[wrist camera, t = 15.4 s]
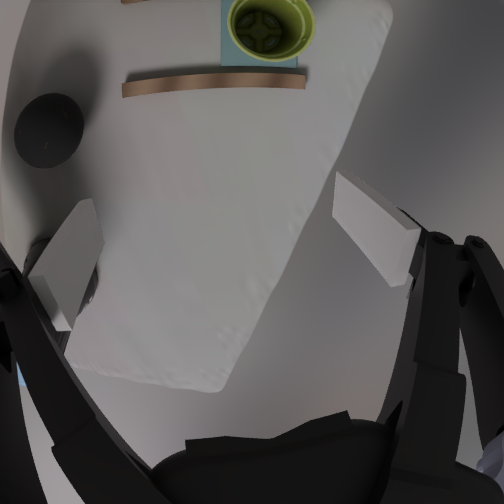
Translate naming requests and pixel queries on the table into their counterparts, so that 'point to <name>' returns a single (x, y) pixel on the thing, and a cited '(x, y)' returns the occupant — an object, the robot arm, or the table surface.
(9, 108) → the table surface
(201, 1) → the table surface
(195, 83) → the pair of walnut rails
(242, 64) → the marked pad
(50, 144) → the speaker
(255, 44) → the plant pot
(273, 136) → the table surface
